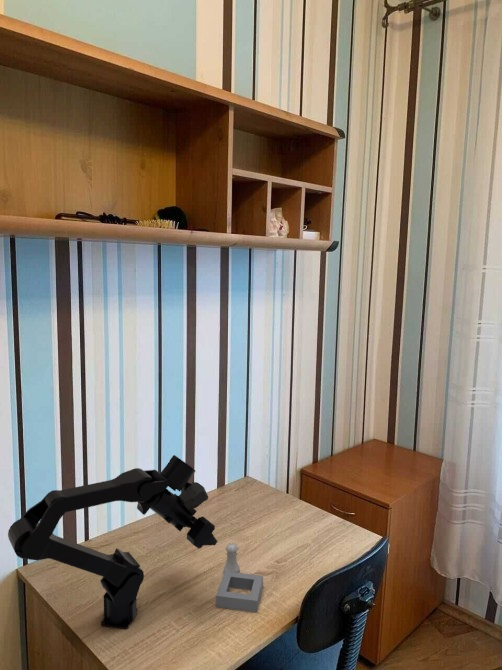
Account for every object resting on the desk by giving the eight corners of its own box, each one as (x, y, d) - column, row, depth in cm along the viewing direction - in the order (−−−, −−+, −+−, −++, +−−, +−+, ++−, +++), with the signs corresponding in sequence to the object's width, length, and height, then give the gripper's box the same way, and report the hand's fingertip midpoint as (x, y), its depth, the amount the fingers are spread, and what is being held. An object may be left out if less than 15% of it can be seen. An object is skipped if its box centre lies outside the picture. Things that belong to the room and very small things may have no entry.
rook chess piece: (221, 570, 139) (221, 542, 138) (236, 567, 141) (237, 539, 139) (226, 579, 135) (226, 551, 134) (242, 576, 136) (242, 548, 135)
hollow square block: (215, 607, 124) (216, 595, 124) (224, 581, 134) (224, 571, 134) (257, 612, 123) (257, 600, 122) (262, 586, 132) (263, 575, 132)
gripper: (208, 491, 118) (246, 523, 126) (170, 464, 133) (207, 494, 141) (177, 533, 115) (218, 563, 123) (142, 500, 130) (181, 529, 138)
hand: (206, 534), depth 131 cm, fingers open, 9 cm apart
